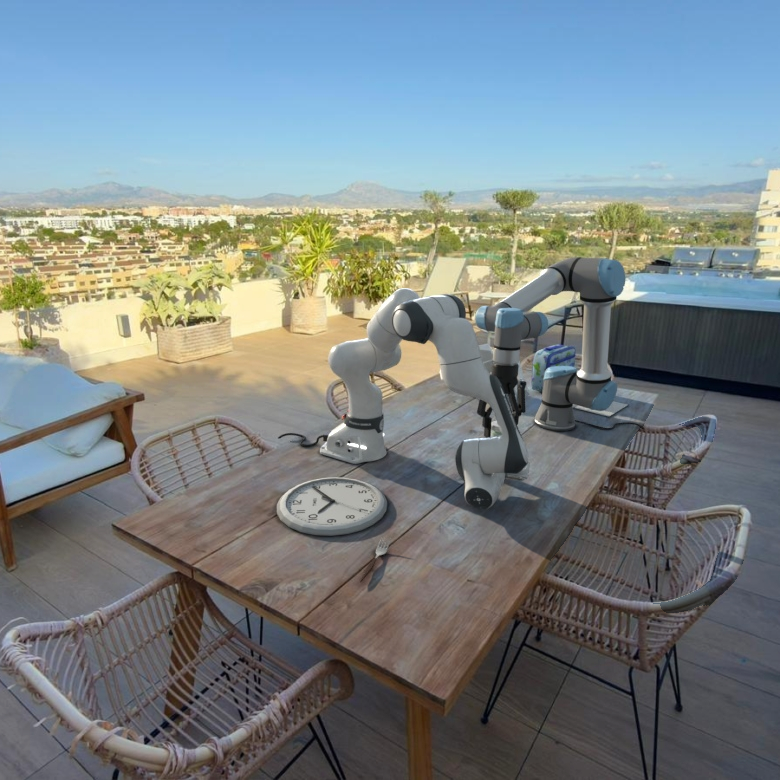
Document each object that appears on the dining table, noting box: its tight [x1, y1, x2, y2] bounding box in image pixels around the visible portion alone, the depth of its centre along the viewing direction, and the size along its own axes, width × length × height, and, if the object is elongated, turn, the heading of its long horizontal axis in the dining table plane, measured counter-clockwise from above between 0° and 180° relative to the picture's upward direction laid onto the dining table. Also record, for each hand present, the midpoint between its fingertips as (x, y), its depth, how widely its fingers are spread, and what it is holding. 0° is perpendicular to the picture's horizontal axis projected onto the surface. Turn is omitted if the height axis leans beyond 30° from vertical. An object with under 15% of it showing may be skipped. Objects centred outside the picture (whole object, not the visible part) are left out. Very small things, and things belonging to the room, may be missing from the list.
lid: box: [491, 420, 501, 432], centre depth 157 cm, size 6×6×2 cm
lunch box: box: [530, 344, 577, 392], centre depth 247 cm, size 26×11×21 cm, turn 134°
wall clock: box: [276, 476, 388, 537], centre depth 142 cm, size 30×2×30 cm
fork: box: [359, 536, 392, 583], centre depth 118 cm, size 3×16×2 cm, turn 160°
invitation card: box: [573, 400, 629, 418], centre depth 226 cm, size 21×1×15 cm
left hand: (497, 454), depth 160 cm, fingers closed on jar, 5 cm apart
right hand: (499, 435), depth 157 cm, fingers open, 7 cm apart
